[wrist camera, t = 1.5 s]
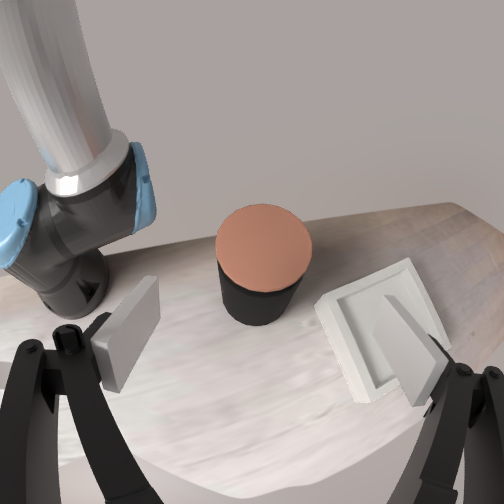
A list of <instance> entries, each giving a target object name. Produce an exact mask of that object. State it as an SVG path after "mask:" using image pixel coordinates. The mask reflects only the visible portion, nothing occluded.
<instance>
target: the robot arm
mask: <svg viewBox="0 0 504 504" xmlns="http://www.w3.org/2000/svg"><path fill="white" fill-rule="evenodd" d="M0 66H1V69H2V72H3V74H4V77H5V80H6V82H7V84H8V87H9V89H10V92H11V94H12V96H13V98H14V101H15V103H16V105H17V107H18V109H19V112H20V114H21V116H22V118H23V120H24V122H25V124H26V126H27V128H28V130H29V132H30V134H31V136H32V138H33V140H34V142H35V144H36V145H37V147H38V149H39V151H40V153H41V155H42V156H43V158H44V160H45V162H46V164H47V165H48V168H47V171H46V174H45V183H44V184H42V185H41V186H38V187H37V186H36V184H35V183H34V182H33V181H31V180H29V179H19V180H17V181H15V182H13V183H12V184H10V185H9V186H8V187H7V188H6V189H5V190H4V191H3V192H2V193H1V194H0V267H1V268H2V269H4V270H6V271H7V272H8V273H10V274H11V275H13V276H14V277H16V278H17V279H18V280H20V281H21V282H23V283H24V284H26V285H28V286H29V287H31V288H32V289H34V290H35V291H36V292H37V293H38V295H39V297H40V298H41V300H42V301H43V303H44V304H45V306H46V307H47V308H48V309H49V310H50V311H51V312H52V313H54V314H56V315H58V316H59V317H61V318H64V319H78V318H81V317H84V316H86V315H87V314H89V313H90V312H91V311H93V310H94V309H95V308H96V307H97V305H98V304H99V303H100V301H101V300H102V298H103V296H104V294H105V292H106V289H107V285H108V279H109V271H108V265H107V262H106V259H105V258H104V256H103V254H102V253H101V252H100V251H99V250H98V248H100V247H102V246H104V245H107V244H109V243H112V242H114V241H117V240H119V239H122V238H124V237H127V236H129V235H133V234H134V233H135V232H136V231H138V230H140V229H142V228H145V227H146V226H149V225H150V224H152V223H153V221H154V220H155V217H156V203H155V197H154V192H153V187H152V183H151V180H150V175H149V169H148V165H147V161H146V157H145V153H144V150H143V148H142V145H141V144H140V143H139V142H130V143H129V141H128V139H127V137H126V135H125V134H124V133H123V132H121V131H119V130H116V129H111V128H110V125H109V122H108V119H107V116H106V113H105V110H104V107H103V104H102V101H101V98H100V95H99V92H98V89H97V85H96V82H95V79H94V75H93V72H92V68H91V65H90V61H89V58H88V54H87V50H86V46H85V42H84V38H83V35H82V30H81V26H80V21H79V17H78V12H77V7H76V2H75V0H0ZM159 320H160V302H159V282H158V277H157V276H149V275H146V276H145V277H144V278H143V279H142V280H141V281H140V282H139V283H138V285H137V286H136V287H135V288H134V289H133V290H132V291H131V292H130V294H129V295H128V296H127V297H126V298H125V299H124V300H123V302H122V303H121V304H120V305H119V306H118V307H117V308H116V310H115V311H114V312H113V313H109V312H105V313H103V314H101V315H99V316H98V317H97V318H96V319H95V320H94V321H93V323H92V324H91V325H90V326H89V328H87V329H86V330H85V331H84V333H82V330H81V328H80V327H79V326H77V325H73V324H66V325H62V326H59V327H58V328H56V329H55V330H54V331H53V335H52V336H53V340H54V343H55V346H56V349H57V350H45V349H44V347H43V344H42V342H41V341H39V340H36V339H30V340H26V341H24V342H22V343H21V344H20V345H19V347H18V349H17V351H16V354H15V357H14V360H13V364H12V367H11V370H10V374H9V377H8V380H7V384H6V388H5V391H4V395H3V399H2V404H1V408H0V504H61V497H60V487H59V474H58V408H59V395H67V398H68V402H69V406H70V409H71V413H72V416H73V419H74V423H75V426H76V429H77V432H78V435H79V438H80V441H81V443H82V446H83V449H84V452H85V454H86V457H87V459H88V462H89V464H90V467H91V469H92V471H93V474H94V476H95V478H96V481H97V483H98V485H99V487H100V489H101V491H102V493H103V495H104V498H105V503H106V504H164V503H163V502H162V500H161V499H160V497H159V496H158V495H157V493H156V491H155V490H154V489H153V488H152V487H151V485H150V484H149V482H148V481H147V479H146V478H145V476H144V474H143V473H142V471H141V469H140V468H139V466H138V464H137V462H136V461H135V459H134V457H133V455H132V454H131V452H130V450H129V448H128V446H127V444H126V442H125V440H124V438H123V436H122V434H121V432H120V430H119V428H118V426H117V424H116V422H115V420H114V418H113V416H112V413H111V411H110V409H109V407H108V404H107V402H106V400H105V397H104V395H103V393H102V390H101V388H100V385H99V383H100V382H101V381H102V384H103V388H104V390H108V391H111V392H115V393H120V391H121V389H122V388H123V386H124V384H125V382H126V380H127V378H128V376H129V374H130V373H131V371H132V369H133V367H134V365H135V363H136V361H137V360H138V358H139V356H140V354H141V352H142V350H143V349H144V347H145V345H146V343H147V341H148V340H149V338H150V336H151V334H152V332H153V331H154V329H155V327H156V325H157V324H158V322H159ZM372 335H373V337H374V339H375V341H376V342H377V344H378V346H379V347H380V349H381V351H382V353H383V354H384V356H385V358H386V360H387V361H388V363H389V365H390V367H391V369H392V370H393V372H394V374H395V376H396V378H397V380H398V381H399V383H400V385H401V387H402V389H403V391H404V392H405V394H406V396H407V398H408V400H409V402H410V404H411V406H412V407H416V406H421V405H425V403H426V402H427V400H428V398H429V397H430V396H431V398H432V400H433V402H432V403H431V405H430V407H429V408H428V410H427V411H426V413H425V414H424V416H423V417H426V419H425V421H424V424H423V427H422V430H421V432H420V435H419V437H418V440H417V443H416V445H415V447H414V450H413V452H412V454H411V456H410V459H409V461H408V463H407V465H406V468H405V470H404V472H403V474H402V476H401V478H400V480H399V482H398V484H397V486H396V488H395V490H394V491H393V493H392V495H391V497H390V499H389V500H388V502H387V504H455V503H456V500H457V496H458V492H457V490H453V485H454V482H455V479H456V475H457V472H458V468H459V465H460V461H461V457H462V452H463V448H464V457H465V480H464V501H463V504H504V374H503V373H502V371H501V370H500V369H499V368H497V367H493V366H488V367H486V368H485V370H484V372H483V374H475V373H474V372H473V370H472V369H471V368H470V367H469V366H468V365H466V364H463V363H455V362H454V360H453V359H452V358H451V357H450V355H449V354H448V353H447V352H446V350H444V348H443V347H442V346H441V344H440V343H439V342H438V341H437V340H436V339H435V338H434V337H432V336H431V335H429V334H427V333H426V332H425V331H424V329H423V328H422V327H421V326H420V325H419V324H418V322H417V321H416V320H415V319H414V318H413V317H412V315H411V314H410V313H409V312H408V311H407V310H406V309H405V307H404V306H403V305H402V304H401V303H400V302H399V301H398V300H397V298H396V297H395V296H394V295H383V298H382V301H381V305H380V308H379V311H378V315H377V318H376V321H375V325H374V328H373V331H372ZM426 415H427V416H426Z"/></svg>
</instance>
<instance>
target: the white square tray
mask: <svg viewBox="0 0 504 504" xmlns="http://www.w3.org/2000/svg"><path fill="white" fill-rule="evenodd" d="M383 295H394V296H395V297H396V298H397V300H398V301H399V302H400V303H401V304H402V305H403V306H404V307H405V309H406V310H407V311H408V312H409V313H410V314H411V315H412V317H413V318H414V319H415V320H416V321H417V322H418V324H419V325H420V326H421V327H422V328H423V329H424V331H425V332H426V333H427V334H429V335H431V336H432V337H434V338H435V339H436V340H437V341H438V342H439V343H440V344H441V346H442V347H443V348H444V350H446V352H447V351H448V350H449V349H450V348H452V346H451V344H450V341H449V339H448V337H447V334H446V332H445V330H444V327H443V325H442V323H441V320H440V318H439V316H438V314H437V312H436V310H435V307H434V305H433V303H432V301H431V299H430V297H429V295H428V293H427V291H426V289H425V287H424V285H423V283H422V281H421V279H420V277H419V275H418V273H417V272H416V270H415V268H414V266H413V264H412V262H411V260H410V259H409V257H408V258H406V259H404V260H402V261H399V262H397V263H395V264H393V265H391V266H388V267H386V268H384V269H382V270H379V271H377V272H375V273H373V274H370V275H368V276H366V277H363V278H361V279H359V280H356V281H354V282H352V283H349V284H347V285H344V286H342V287H340V288H337V289H335V290H332V291H330V292H327V293H325V294H323V295H322V296H321V298H320V299H319V300H318V301H317V302H316V304H315V305H314V308H315V310H316V313H317V315H318V317H319V319H320V322H321V324H322V326H323V328H324V331H325V333H326V335H327V337H328V340H329V342H330V344H331V347H332V349H333V351H334V353H335V356H336V358H337V360H338V363H339V365H340V367H341V370H342V372H343V374H344V377H345V379H346V382H347V384H348V386H349V389H350V391H351V394H352V396H353V398H354V401H355V402H358V403H372V402H374V401H375V400H377V399H379V398H380V397H382V396H384V395H385V394H387V393H389V392H390V391H392V390H393V389H395V388H396V387H398V386H400V383H399V381H398V380H397V378H396V376H395V374H394V372H393V370H392V369H391V367H390V365H389V363H388V361H387V360H386V358H385V356H384V354H383V353H382V351H381V349H380V347H379V346H378V344H377V342H376V341H375V339H374V337H373V335H372V331H373V328H374V325H375V321H376V318H377V315H378V311H379V308H380V305H381V301H382V298H383Z"/></svg>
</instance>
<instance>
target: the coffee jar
mask: <svg viewBox="0 0 504 504" xmlns="http://www.w3.org/2000/svg"><path fill="white" fill-rule="evenodd" d="M215 247H216V255H217V263H218V270H219V277H220V284H221V291H222V297H223V304H224V305H225V307H226V309H227V311H228V313H229V314H230V315H231V316H232V317H233V318H234V319H235V320H237V321H239V322H241V323H243V324H245V325H251V326H261V325H267V324H269V323H271V322H273V321H275V320H276V319H277V318H278V317H279V316H280V315H281V314H282V313H283V312H284V310H285V308H286V307H287V305H288V303H289V301H290V300H291V298H292V296H293V294H294V292H295V291H296V289H297V287H298V285H299V283H300V282H301V280H302V277H303V275H304V273H305V272H306V270H307V268H308V265H309V263H310V261H311V259H312V241H311V238H310V235H309V231H308V230H307V228H306V227H305V226H304V224H303V223H302V221H301V220H300V219H299V218H297V217H296V216H295V215H294V214H292V213H291V212H290V211H287V210H285V209H283V208H281V207H278V206H274V205H267V204H258V205H249V206H246V207H244V208H241V209H239V210H236V211H235V212H234V213H233V214H231V215H230V216H229V217H227V218H226V219H225V221H224V222H223V224H222V225H221V227H220V228H219V230H218V233H217V237H216V242H215Z"/></svg>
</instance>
